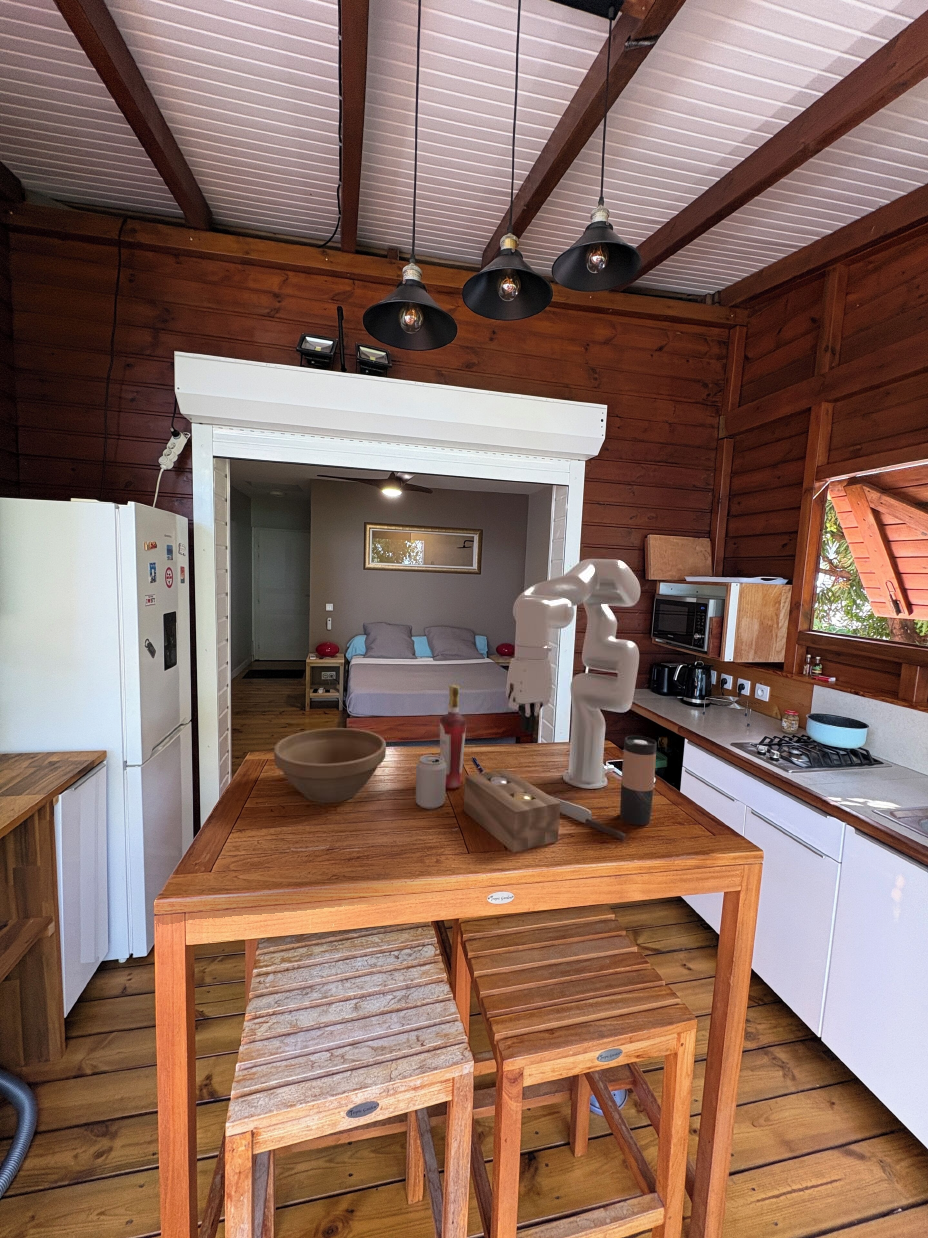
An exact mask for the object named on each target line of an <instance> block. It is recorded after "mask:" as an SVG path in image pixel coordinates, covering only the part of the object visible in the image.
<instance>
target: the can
mask: <svg viewBox="0 0 928 1238" xmlns="http://www.w3.org/2000/svg"><path fill="white" fill-rule="evenodd" d="M415 773H416V774H415V775H416V778H415V803H416V804H417V805H418V806H419V807H420V808H423V809H427V810H433V809H439V808H440V807H441V806H442V805H443V804H444V803H445V801H446V789H445V784H446V763H445V762H444V758H443V757H441V756H440V755H438V754H425V755H422V756H421V757H419V761H418V762H417V763H416V772H415Z"/></svg>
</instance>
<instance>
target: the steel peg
mask: <svg viewBox="0 0 928 1238" xmlns="http://www.w3.org/2000/svg"><path fill="white" fill-rule="evenodd" d="M491 783H493V784H494V785H496V786H497V785H503V784H507V780H506V779H505V778H502V777H493V778H491Z"/></svg>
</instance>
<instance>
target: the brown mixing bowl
mask: <svg viewBox="0 0 928 1238" xmlns="http://www.w3.org/2000/svg"><path fill="white" fill-rule="evenodd" d="M386 744H387V742H386V740H385V739H384V738H383V737H382V736H381V735H379V734H377V733H374V732H371V731H367V730H363V729H356V728H347V727H346V728H344V727H343V728H342V727H336V728H335V727H331V728H320V729H319V728H317V729H312V730H306V731H302V732H301V731H300V732H298V733H294V734H291V735H289V736H288V735H287V737H284V738H282V739H281V740H279V741H278V742H277V743H276V744H275V746H274V748H273V749H274V750H273V759H274V761H273V762H274V765H275V766H276V768H277V769H278V770H280V771H281V772H282V773H283V775H284V776H285V778H286V779H287V780H288V782H290V784H291V785H292V786H293V787H294V788H295V789H296V790H298V791H299V792H300V793H301V794H302V795H303V797H305V798H306V799H308V800H310V801H312V802H315V803H325V804H327V803H338V802H343V801H345V800H349V799H350V798H353V797H354V796H355V795H357V794H358V792H360V790H361V789H362V788H363V787H364V786H365V785H366V784H367V783H368V782H369V781H370V780H371V778H372V776H373V775H375V772H376V771H377V768H378V767H379V766H380V765H381V764H382V763H383V762H384V761H385V759H386V751H387V745H386Z"/></svg>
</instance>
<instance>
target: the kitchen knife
mask: <svg viewBox="0 0 928 1238" xmlns="http://www.w3.org/2000/svg"><path fill="white" fill-rule="evenodd" d="M549 796H550V797H552V798H554V799H555V800H557V801H559V802H560V813H561V814H563V815H564V816H567V817H570V818H572V819H575V820H576V821H578V822H579V821H580V822H581V823H584V824H585V825H587V826H589V827H591V828H593V829H596V830H598V831H600V832H602V833H605V834H607V835H609V836H611V837H613V838H616V839H619V840H620V841H624V840H626V838H627V835H626V833H624V832H622V831H621V830H618V829H616V828H612V827H610V826H608V825H607V824H604V823H602V822H600V821H598V820H595V819H593V816H592V815H593V813H592V811H591V810H590V809H588V808H586V807H584V806H580V805H578V804H575V803H573V802H569V801H566V800H563V799H560V798H557V797H555V796H552V795H549Z"/></svg>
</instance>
